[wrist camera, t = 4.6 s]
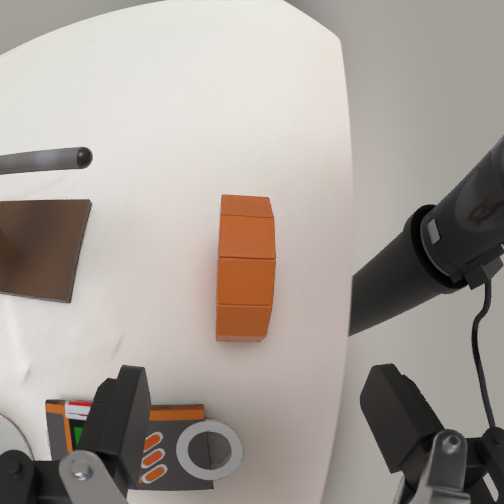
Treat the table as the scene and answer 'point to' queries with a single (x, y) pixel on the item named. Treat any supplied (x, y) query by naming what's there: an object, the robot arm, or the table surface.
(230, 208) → the tape roll
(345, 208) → the table surface
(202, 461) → the electronic device
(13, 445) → the mug
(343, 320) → the table surface
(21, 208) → the hook stand
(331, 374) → the table surface
